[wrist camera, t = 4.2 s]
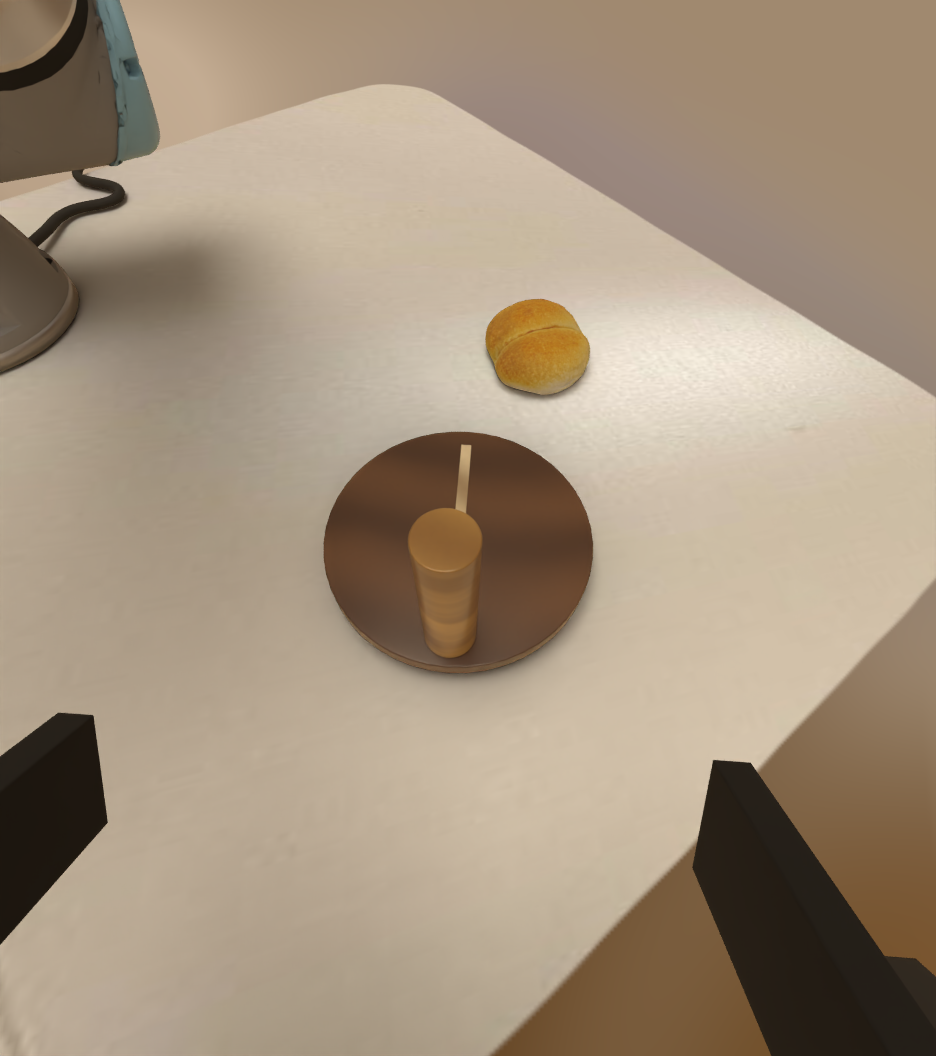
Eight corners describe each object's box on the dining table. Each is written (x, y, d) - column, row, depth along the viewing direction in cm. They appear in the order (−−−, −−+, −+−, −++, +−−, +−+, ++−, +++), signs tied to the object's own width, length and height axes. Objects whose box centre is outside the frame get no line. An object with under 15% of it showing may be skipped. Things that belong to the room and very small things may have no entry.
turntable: (352, 435, 40) (313, 288, 30) (584, 449, 40) (627, 305, 29) (301, 663, 32) (220, 570, 21) (596, 683, 31) (664, 598, 21)
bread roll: (507, 408, 43) (511, 370, 40) (476, 334, 48) (477, 294, 44) (603, 388, 45) (615, 349, 41) (564, 317, 49) (572, 277, 46)
